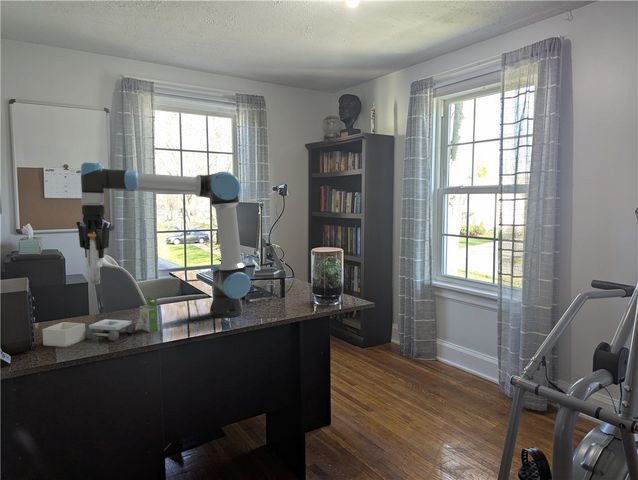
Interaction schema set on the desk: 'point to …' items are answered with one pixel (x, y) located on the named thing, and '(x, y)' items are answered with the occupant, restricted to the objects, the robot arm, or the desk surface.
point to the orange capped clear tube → (93, 260)
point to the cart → (109, 328)
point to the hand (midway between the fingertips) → (94, 266)
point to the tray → (63, 334)
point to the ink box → (149, 316)
